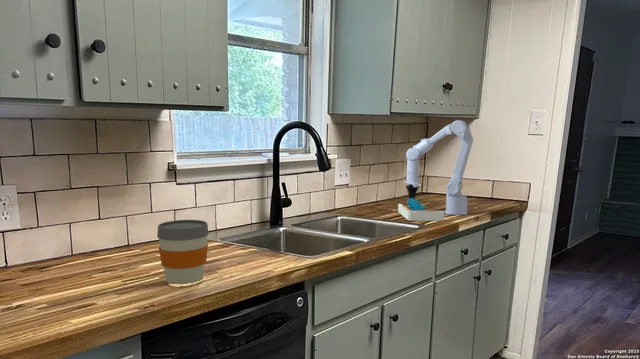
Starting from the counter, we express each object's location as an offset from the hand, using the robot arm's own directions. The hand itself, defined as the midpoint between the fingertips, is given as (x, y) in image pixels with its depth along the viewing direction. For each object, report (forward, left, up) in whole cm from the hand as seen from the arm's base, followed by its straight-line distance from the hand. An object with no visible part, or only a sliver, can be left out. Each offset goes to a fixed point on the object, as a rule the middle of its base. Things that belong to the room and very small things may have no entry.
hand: (411, 200), depth 226 cm
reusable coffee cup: (+84, +107, -5) cm, 136 cm away
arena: (0, +15, -5) cm, 16 cm away
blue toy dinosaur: (0, +11, -6) cm, 12 cm away
